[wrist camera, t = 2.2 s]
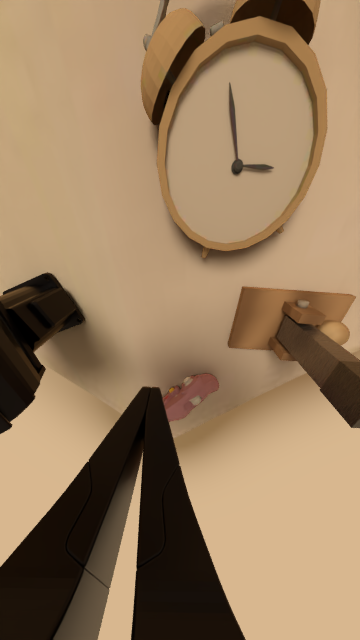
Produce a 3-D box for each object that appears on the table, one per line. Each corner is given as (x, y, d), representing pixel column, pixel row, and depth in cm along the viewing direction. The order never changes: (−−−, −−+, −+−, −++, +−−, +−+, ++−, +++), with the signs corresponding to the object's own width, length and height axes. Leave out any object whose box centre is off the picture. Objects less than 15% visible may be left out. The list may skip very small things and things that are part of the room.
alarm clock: (185, 271, 16) (75, -84, 7) (182, 253, 19) (110, 15, 10) (316, 228, 14) (413, -329, 5) (284, 219, 18) (305, -102, 9)
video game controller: (203, 358, 26) (191, 380, 20) (222, 381, 26) (217, 412, 19) (161, 388, 30) (139, 416, 23) (177, 410, 29) (160, 444, 23)
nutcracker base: (227, 343, 23) (236, 364, 19) (242, 286, 19) (256, 299, 16) (317, 349, 23) (341, 371, 20) (349, 294, 19) (387, 309, 16)
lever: (275, 337, 21) (351, 427, 11) (285, 314, 19) (381, 396, 10) (291, 338, 21) (379, 429, 11) (302, 315, 19) (414, 398, 10)
